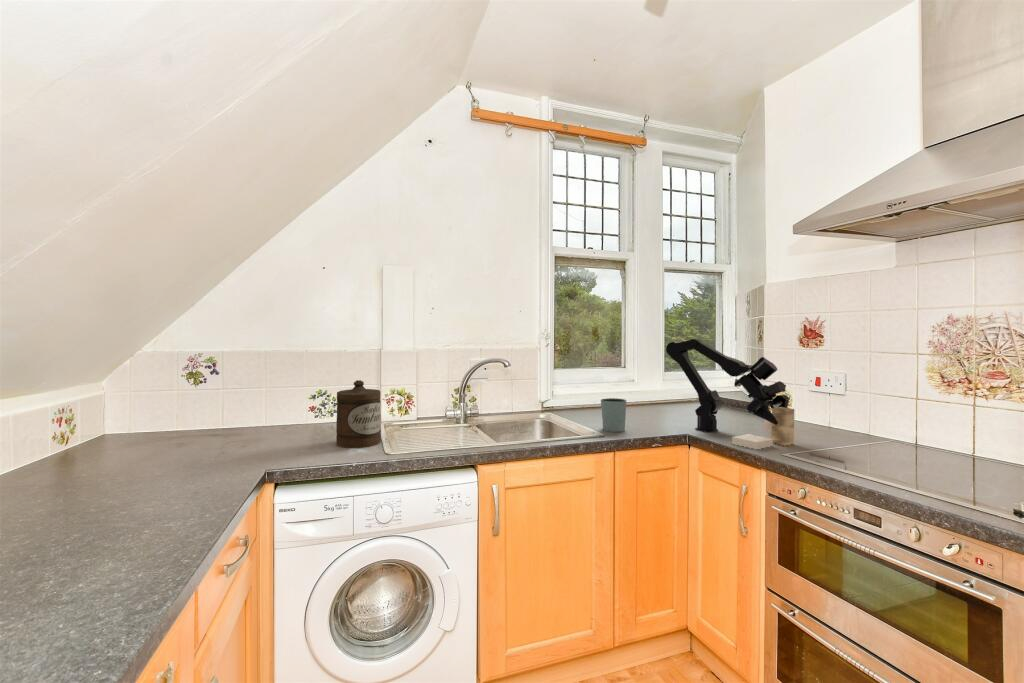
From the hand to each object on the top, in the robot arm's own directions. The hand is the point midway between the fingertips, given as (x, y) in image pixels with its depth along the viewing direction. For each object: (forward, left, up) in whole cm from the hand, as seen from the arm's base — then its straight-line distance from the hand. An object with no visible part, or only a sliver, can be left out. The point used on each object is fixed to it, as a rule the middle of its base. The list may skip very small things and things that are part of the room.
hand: (784, 422), depth 167 cm
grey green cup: (-49, -35, -8) cm, 60 cm away
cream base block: (-5, -12, -8) cm, 15 cm away
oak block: (-1, 0, -7) cm, 8 cm away
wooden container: (-77, -128, -8) cm, 149 cm away
